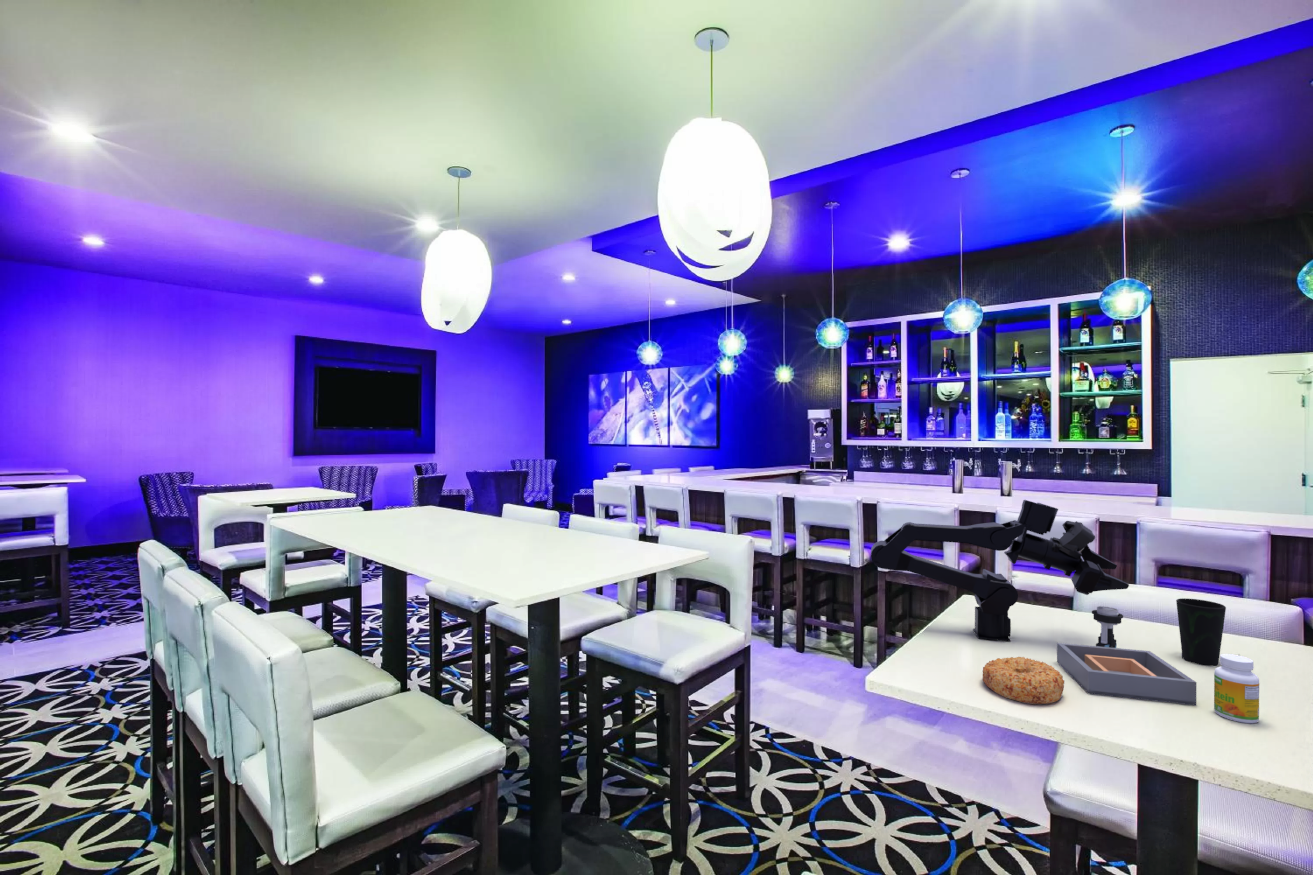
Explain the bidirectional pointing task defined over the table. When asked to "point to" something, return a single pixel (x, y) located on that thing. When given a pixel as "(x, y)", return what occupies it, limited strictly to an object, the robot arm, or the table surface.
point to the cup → (1200, 630)
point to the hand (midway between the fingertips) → (1121, 576)
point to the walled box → (1125, 673)
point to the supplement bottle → (1236, 689)
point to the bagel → (1024, 680)
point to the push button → (1107, 625)
